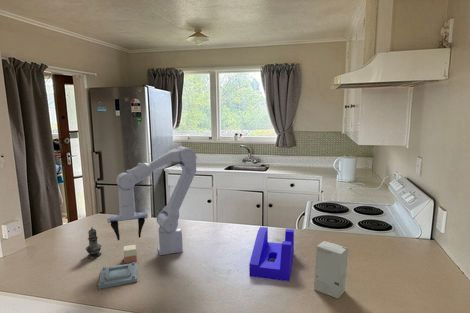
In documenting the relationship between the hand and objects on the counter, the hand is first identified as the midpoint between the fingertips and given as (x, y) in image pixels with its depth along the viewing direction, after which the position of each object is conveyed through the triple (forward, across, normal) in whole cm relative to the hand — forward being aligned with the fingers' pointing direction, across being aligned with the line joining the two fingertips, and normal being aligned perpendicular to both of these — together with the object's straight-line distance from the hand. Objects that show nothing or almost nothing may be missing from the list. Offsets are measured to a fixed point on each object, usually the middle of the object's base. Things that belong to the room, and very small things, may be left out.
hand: (129, 237), depth 119 cm
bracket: (+9, -51, +23) cm, 57 cm away
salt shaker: (+9, +14, -9) cm, 19 cm away
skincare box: (+9, -60, +45) cm, 76 cm away
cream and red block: (+9, 0, 0) cm, 9 cm away
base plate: (+9, +4, +12) cm, 15 cm away
